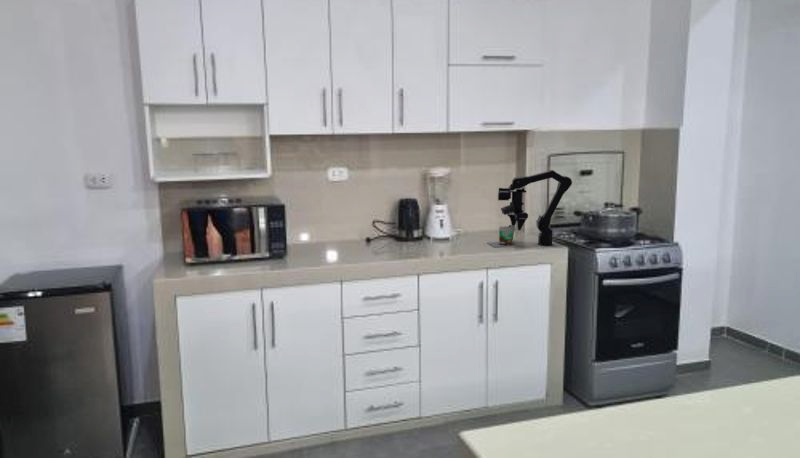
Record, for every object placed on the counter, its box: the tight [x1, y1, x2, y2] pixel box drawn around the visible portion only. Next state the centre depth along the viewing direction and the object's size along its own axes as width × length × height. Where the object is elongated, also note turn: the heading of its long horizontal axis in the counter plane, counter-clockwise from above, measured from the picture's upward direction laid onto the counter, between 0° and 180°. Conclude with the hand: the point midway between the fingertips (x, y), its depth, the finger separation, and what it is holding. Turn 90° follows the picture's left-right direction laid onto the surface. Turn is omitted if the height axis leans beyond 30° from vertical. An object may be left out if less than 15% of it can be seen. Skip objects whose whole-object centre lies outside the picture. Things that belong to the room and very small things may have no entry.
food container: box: [498, 224, 516, 246], centre depth 322 cm, size 12×6×10 cm, turn 143°
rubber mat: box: [486, 241, 507, 249], centre depth 321 cm, size 6×12×1 cm, turn 9°
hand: (516, 228), depth 322 cm, fingers open, 9 cm apart
